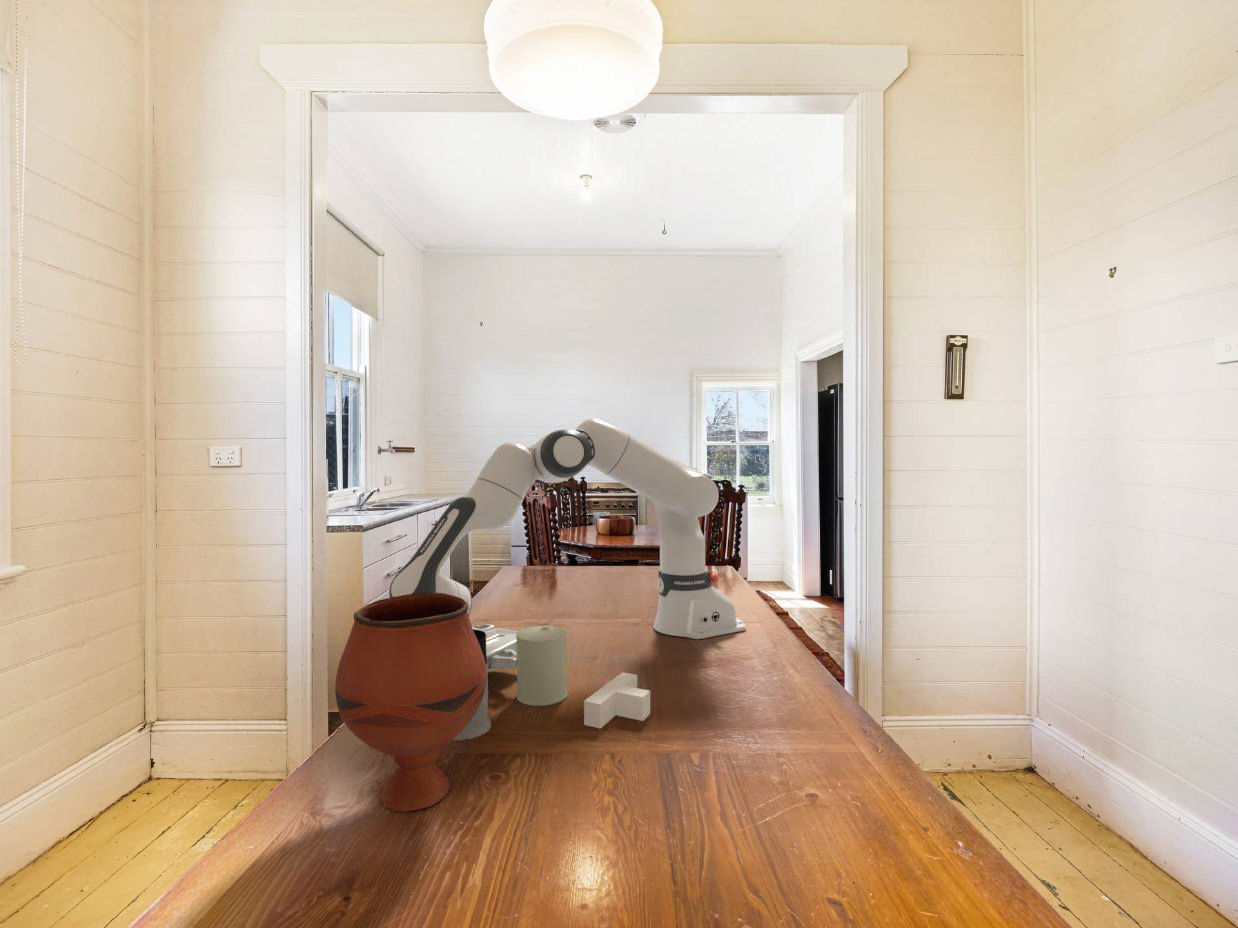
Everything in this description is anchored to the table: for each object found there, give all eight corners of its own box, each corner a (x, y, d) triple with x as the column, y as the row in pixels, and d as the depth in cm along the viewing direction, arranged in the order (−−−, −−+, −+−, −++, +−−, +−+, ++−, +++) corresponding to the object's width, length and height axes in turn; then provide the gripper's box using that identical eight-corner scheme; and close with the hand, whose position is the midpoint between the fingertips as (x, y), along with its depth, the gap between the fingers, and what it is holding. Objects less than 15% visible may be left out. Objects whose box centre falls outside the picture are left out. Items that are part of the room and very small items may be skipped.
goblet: (435, 743, 97) (432, 581, 96) (519, 786, 85) (517, 602, 84) (308, 798, 82) (304, 608, 81) (388, 859, 70) (384, 637, 69)
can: (571, 686, 119) (570, 623, 119) (562, 707, 110) (561, 638, 109) (523, 684, 120) (522, 622, 119) (510, 705, 111) (509, 637, 110)
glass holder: (500, 719, 105) (499, 630, 105) (456, 760, 91) (454, 658, 91) (453, 713, 107) (452, 626, 107) (403, 753, 94) (402, 653, 93)
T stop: (584, 724, 103) (584, 700, 103) (622, 693, 115) (622, 672, 115) (628, 734, 99) (628, 709, 99) (662, 701, 112) (662, 679, 112)
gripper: (422, 651, 114) (483, 663, 108) (493, 621, 132) (549, 630, 126) (423, 685, 114) (484, 699, 108) (494, 651, 132) (549, 661, 126)
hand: (519, 661), depth 117 cm, fingers closed
